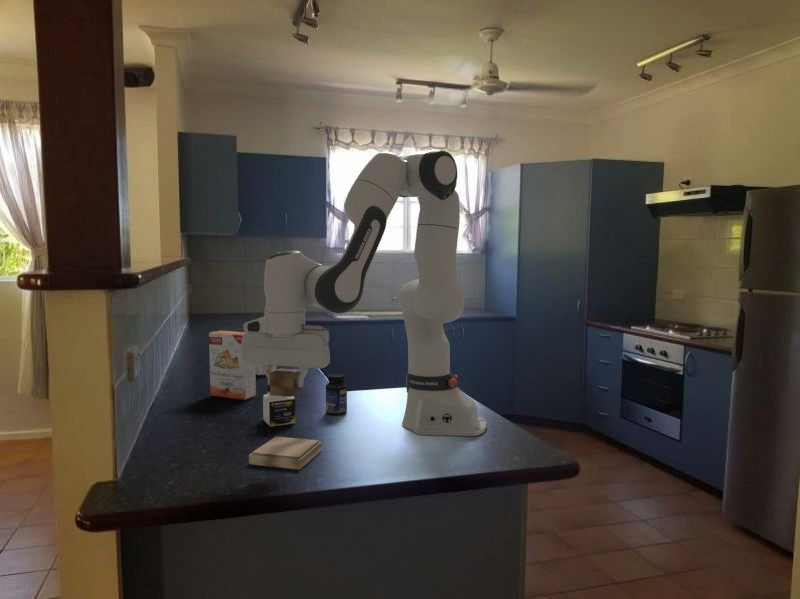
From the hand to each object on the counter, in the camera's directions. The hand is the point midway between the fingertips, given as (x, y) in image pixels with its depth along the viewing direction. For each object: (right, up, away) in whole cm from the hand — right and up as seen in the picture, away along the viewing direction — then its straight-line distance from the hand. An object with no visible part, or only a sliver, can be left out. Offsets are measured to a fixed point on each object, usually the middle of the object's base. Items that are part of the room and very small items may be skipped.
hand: (285, 385), depth 123 cm
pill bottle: (+7, -14, +37) cm, 40 cm away
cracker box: (-28, -12, +55) cm, 63 cm away
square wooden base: (0, -16, +1) cm, 16 cm away
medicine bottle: (-7, -14, +28) cm, 32 cm away
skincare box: (-27, -10, +91) cm, 95 cm away
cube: (0, -2, 0) cm, 2 cm away
